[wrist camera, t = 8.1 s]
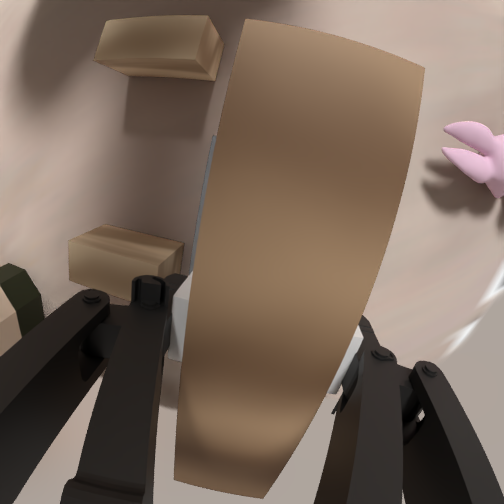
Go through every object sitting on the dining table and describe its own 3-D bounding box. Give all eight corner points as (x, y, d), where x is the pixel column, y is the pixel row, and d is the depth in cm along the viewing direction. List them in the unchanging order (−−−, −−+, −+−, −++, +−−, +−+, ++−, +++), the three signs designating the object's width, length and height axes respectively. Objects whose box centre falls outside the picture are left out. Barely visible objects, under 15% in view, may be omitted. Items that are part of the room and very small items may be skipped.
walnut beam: (258, 65, 10) (245, 18, 6) (378, 96, 10) (424, 68, 6) (192, 425, 17) (173, 479, 12) (268, 442, 16) (262, 498, 12)
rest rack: (138, 42, 17) (106, 20, 13) (224, 44, 17) (208, 15, 12) (103, 258, 23) (69, 280, 18) (179, 279, 23) (154, 308, 18)
